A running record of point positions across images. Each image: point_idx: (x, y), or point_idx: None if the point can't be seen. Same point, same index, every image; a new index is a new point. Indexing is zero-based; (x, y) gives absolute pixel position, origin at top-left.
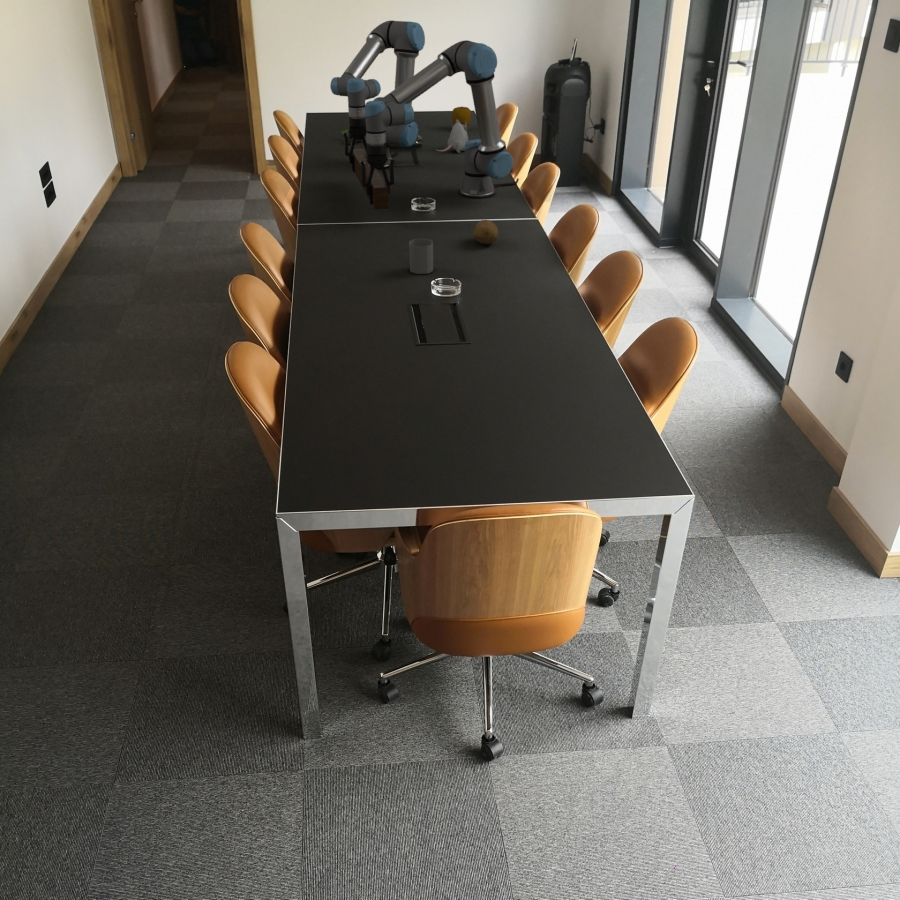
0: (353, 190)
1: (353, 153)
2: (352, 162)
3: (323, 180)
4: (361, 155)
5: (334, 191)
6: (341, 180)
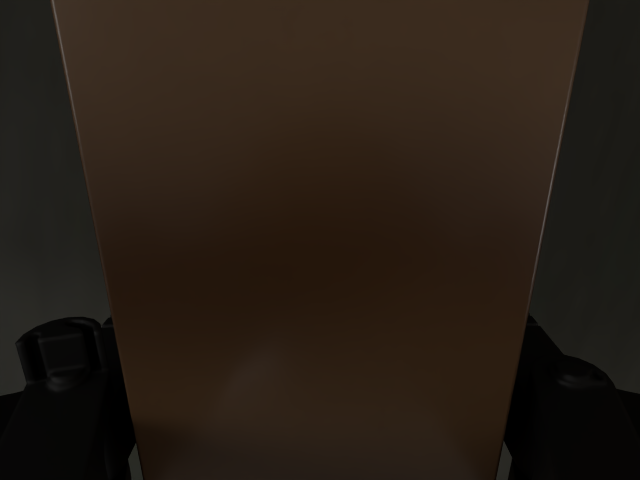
0: None
1: (503, 434)
2: None
3: None
4: (305, 108)
5: (611, 107)
6: None
